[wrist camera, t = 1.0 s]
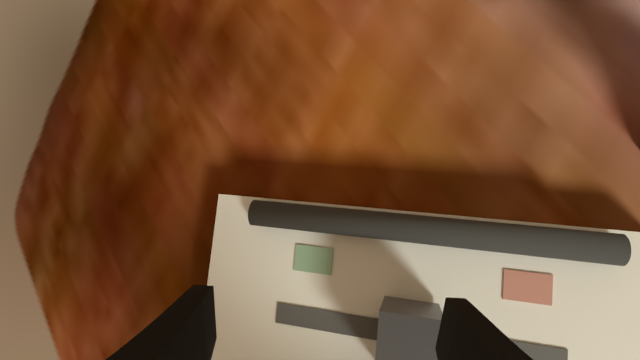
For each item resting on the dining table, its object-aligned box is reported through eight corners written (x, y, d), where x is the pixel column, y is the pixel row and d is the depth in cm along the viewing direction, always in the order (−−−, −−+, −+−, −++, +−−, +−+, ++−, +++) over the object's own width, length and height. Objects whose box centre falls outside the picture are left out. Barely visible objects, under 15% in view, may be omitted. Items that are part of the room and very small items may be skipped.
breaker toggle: (433, 378, 20) (439, 413, 17) (378, 367, 21) (372, 399, 17) (438, 303, 21) (445, 321, 17) (384, 295, 22) (379, 310, 18)
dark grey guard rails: (608, 514, 18) (626, 540, 17) (234, 420, 23) (221, 434, 21) (613, 233, 20) (631, 234, 18) (259, 200, 24) (249, 198, 23)
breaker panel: (649, 499, 20) (684, 538, 17) (210, 395, 26) (189, 413, 24) (651, 235, 21) (684, 236, 19) (235, 196, 28) (217, 193, 25)
